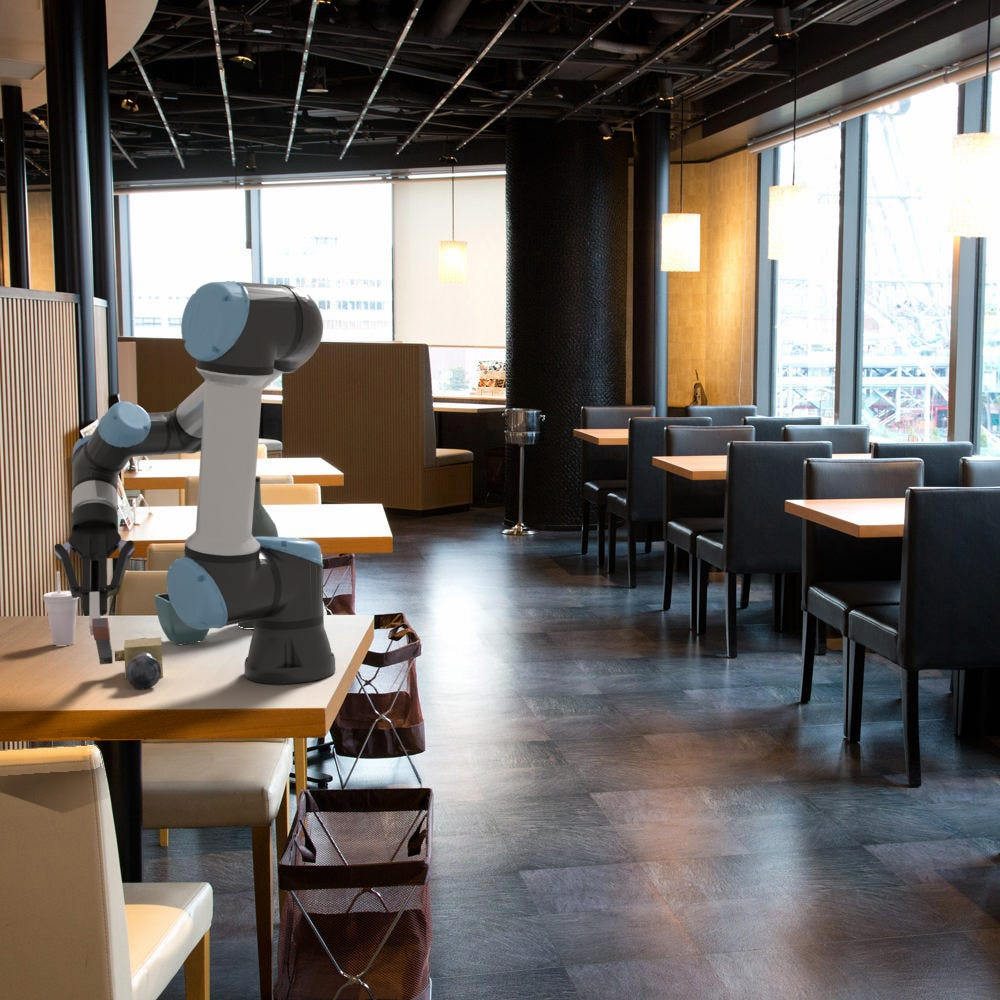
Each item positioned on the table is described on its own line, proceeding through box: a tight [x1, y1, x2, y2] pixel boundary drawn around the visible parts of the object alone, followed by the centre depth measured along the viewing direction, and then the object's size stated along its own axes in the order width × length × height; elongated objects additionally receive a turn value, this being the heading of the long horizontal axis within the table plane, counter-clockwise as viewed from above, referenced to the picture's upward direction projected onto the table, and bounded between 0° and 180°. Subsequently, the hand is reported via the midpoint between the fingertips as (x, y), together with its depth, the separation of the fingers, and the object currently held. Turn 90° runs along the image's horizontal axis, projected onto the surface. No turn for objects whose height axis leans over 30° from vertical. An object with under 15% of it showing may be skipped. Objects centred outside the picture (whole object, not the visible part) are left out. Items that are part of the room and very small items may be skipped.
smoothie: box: [42, 570, 80, 646], centre depth 225 cm, size 6×6×14 cm
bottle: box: [237, 475, 279, 628], centre depth 239 cm, size 9×9×30 cm
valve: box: [114, 637, 164, 690], centre depth 200 cm, size 14×8×6 cm, turn 16°
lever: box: [92, 617, 114, 665], centre depth 193 cm, size 2×2×19 cm
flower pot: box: [154, 592, 210, 645], centre depth 227 cm, size 9×9×9 cm
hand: (94, 630), depth 192 cm, fingers closed
